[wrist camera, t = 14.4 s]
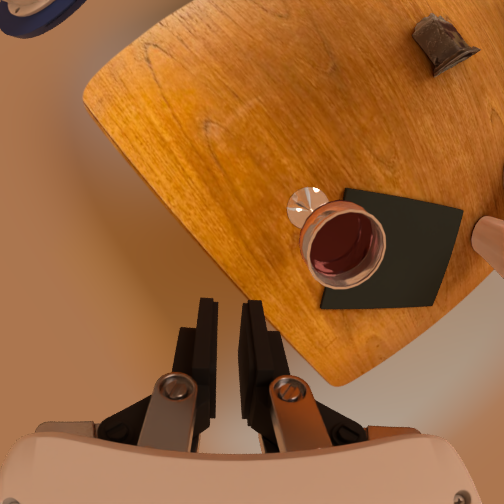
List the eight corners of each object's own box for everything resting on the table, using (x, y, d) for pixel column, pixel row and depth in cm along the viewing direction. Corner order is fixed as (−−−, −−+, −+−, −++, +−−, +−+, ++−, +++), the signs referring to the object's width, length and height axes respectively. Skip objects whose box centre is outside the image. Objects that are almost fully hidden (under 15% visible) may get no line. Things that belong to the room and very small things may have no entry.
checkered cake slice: (450, 13, 22) (445, -8, 15) (481, 51, 22) (488, 41, 15) (408, 41, 29) (391, 30, 22) (437, 78, 30) (430, 77, 23)
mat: (319, 306, 38) (320, 309, 37) (344, 187, 31) (346, 188, 31) (430, 304, 40) (432, 306, 39) (461, 209, 34) (463, 210, 33)
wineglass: (272, 230, 33) (294, 283, 22) (287, 172, 30) (321, 198, 19) (326, 241, 34) (368, 294, 23) (343, 187, 31) (398, 220, 20)
